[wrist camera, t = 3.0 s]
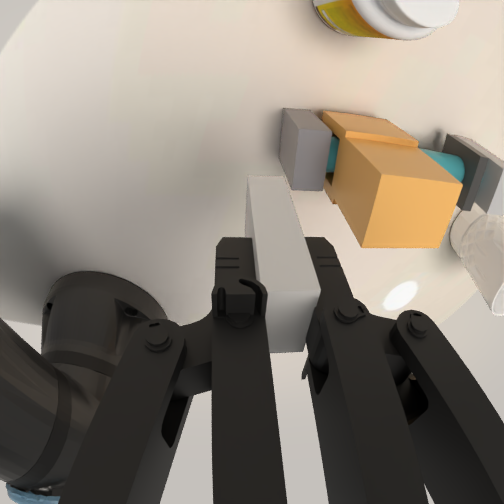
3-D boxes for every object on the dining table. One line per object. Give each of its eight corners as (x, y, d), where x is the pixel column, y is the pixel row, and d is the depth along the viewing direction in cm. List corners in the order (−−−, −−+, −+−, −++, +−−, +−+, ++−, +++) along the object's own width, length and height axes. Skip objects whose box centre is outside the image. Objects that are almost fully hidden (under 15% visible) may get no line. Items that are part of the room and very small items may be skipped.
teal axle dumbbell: (278, 161, 24) (295, 206, 19) (283, 104, 21) (305, 131, 16) (459, 179, 26) (502, 218, 20) (472, 136, 23) (521, 170, 17)
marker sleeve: (314, 172, 23) (359, 254, 15) (323, 110, 20) (383, 165, 13) (374, 176, 24) (435, 253, 16) (386, 119, 21) (465, 177, 13)
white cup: (471, 259, 33) (512, 318, 25) (432, 245, 31) (478, 313, 23) (504, 208, 28) (555, 263, 20) (470, 185, 26) (530, 245, 18)
